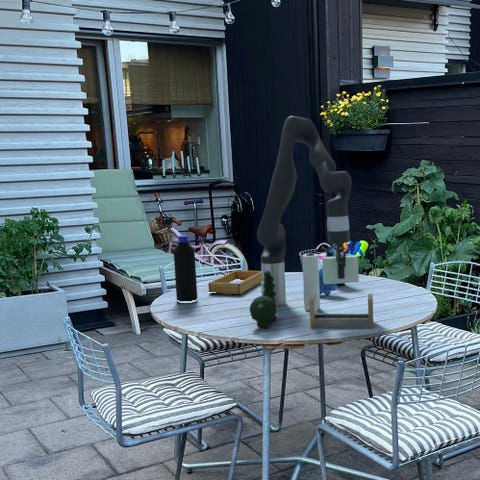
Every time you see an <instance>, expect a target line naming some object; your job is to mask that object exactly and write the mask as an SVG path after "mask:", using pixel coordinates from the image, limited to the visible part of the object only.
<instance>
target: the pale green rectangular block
mask: <svg viewBox="0 0 480 480" xmlns="http://www.w3.org/2000/svg"><path fill="white" fill-rule="evenodd" d="M337 259H338V258H337ZM321 260H322V261H321V263H322V264H321V265H322V266H321V267H322V269H323V283H324V284H337V283H345V284H349V283H352V284H353V283H359V282H360V279H359V278H360V277H359V275H360V274H359V257H358V255H356V254H353V255H352V254H351V255H346V266H345V268H344V273H345V278H344V279H339V278H338V268H337V262H336V260H335V257H326V256H323V257H321ZM340 264H343V262H340Z"/></svg>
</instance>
